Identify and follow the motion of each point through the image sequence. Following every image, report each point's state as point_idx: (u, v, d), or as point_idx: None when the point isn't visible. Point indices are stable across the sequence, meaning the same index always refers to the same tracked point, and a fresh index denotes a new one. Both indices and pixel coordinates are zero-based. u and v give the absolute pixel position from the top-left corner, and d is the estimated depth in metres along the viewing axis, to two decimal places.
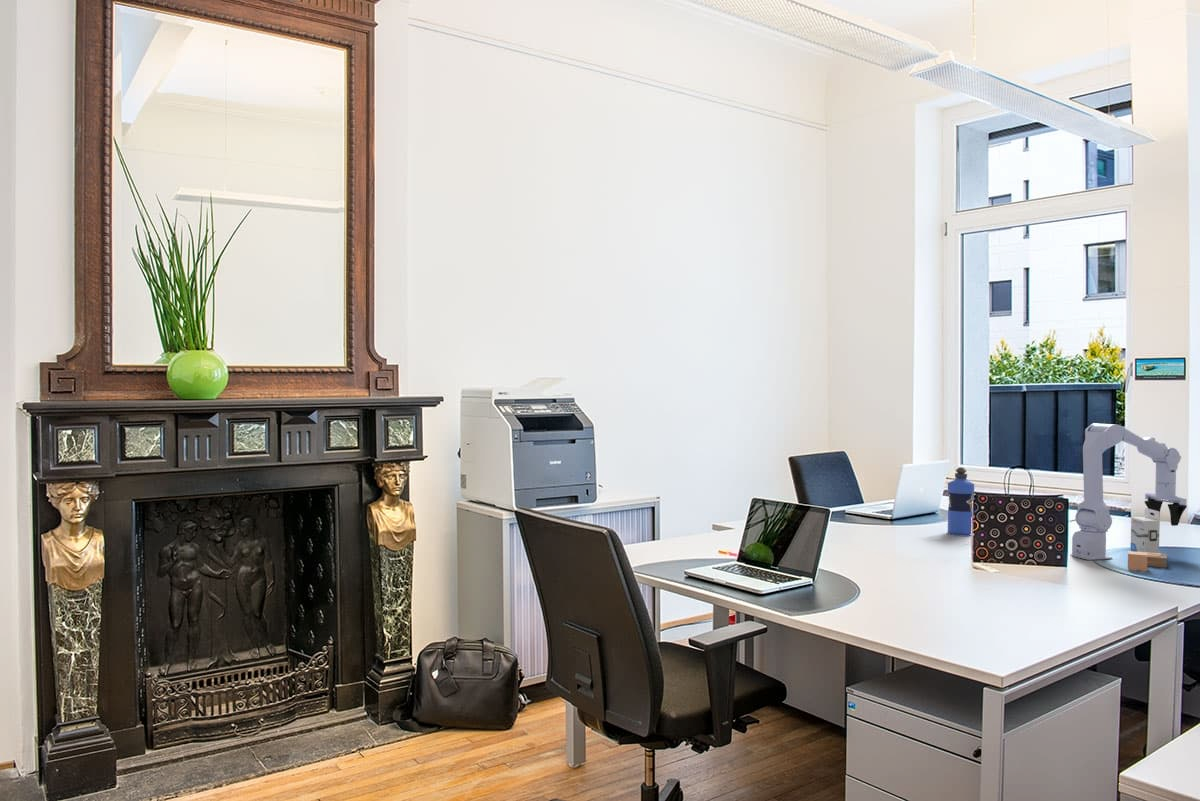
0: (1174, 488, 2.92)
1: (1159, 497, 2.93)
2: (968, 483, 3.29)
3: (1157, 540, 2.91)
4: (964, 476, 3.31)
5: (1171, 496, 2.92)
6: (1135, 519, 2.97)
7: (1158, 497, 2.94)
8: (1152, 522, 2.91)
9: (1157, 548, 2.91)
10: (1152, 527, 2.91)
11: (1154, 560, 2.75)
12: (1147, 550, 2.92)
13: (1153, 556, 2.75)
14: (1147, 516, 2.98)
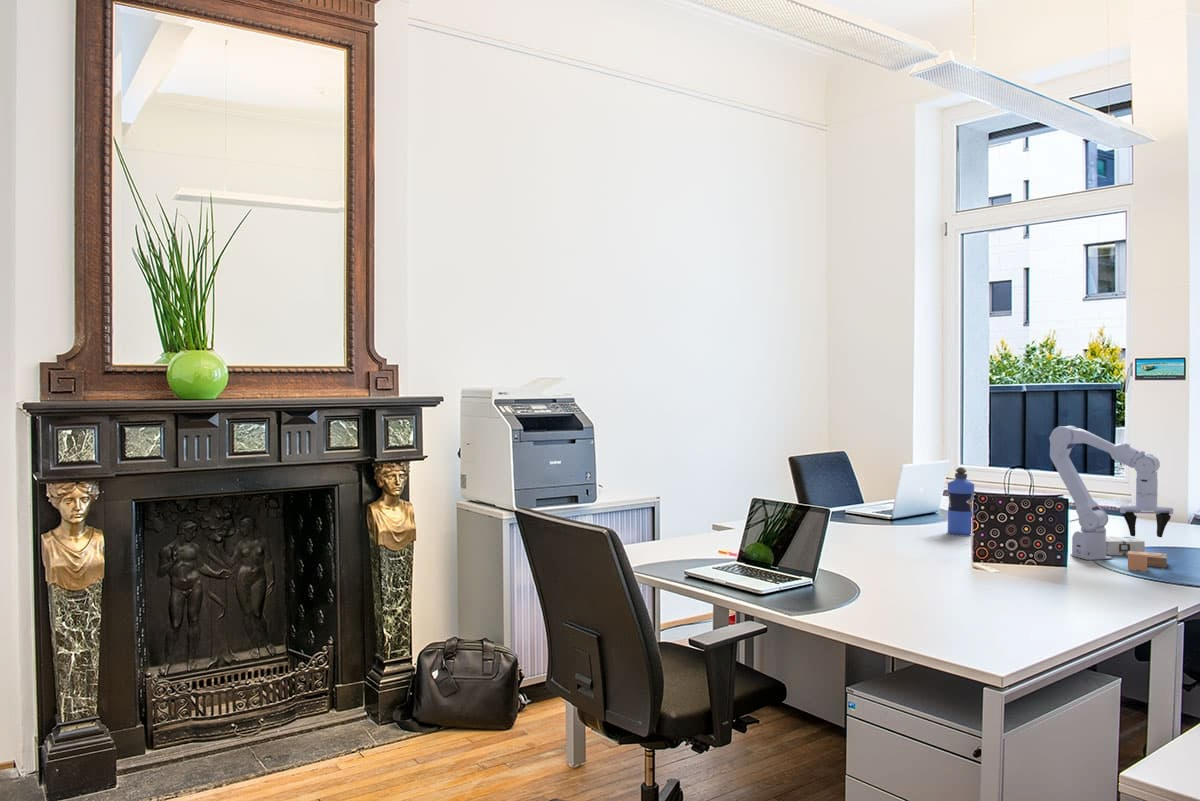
0: (1138, 498, 2.77)
1: None
2: (968, 483, 3.29)
3: (1129, 543, 2.91)
4: (964, 476, 3.31)
5: (1136, 506, 2.79)
6: None
7: None
8: (1110, 548, 2.92)
9: (1137, 543, 2.91)
10: (1116, 548, 2.92)
11: (1154, 560, 2.75)
12: None
13: (1153, 556, 2.75)
14: None
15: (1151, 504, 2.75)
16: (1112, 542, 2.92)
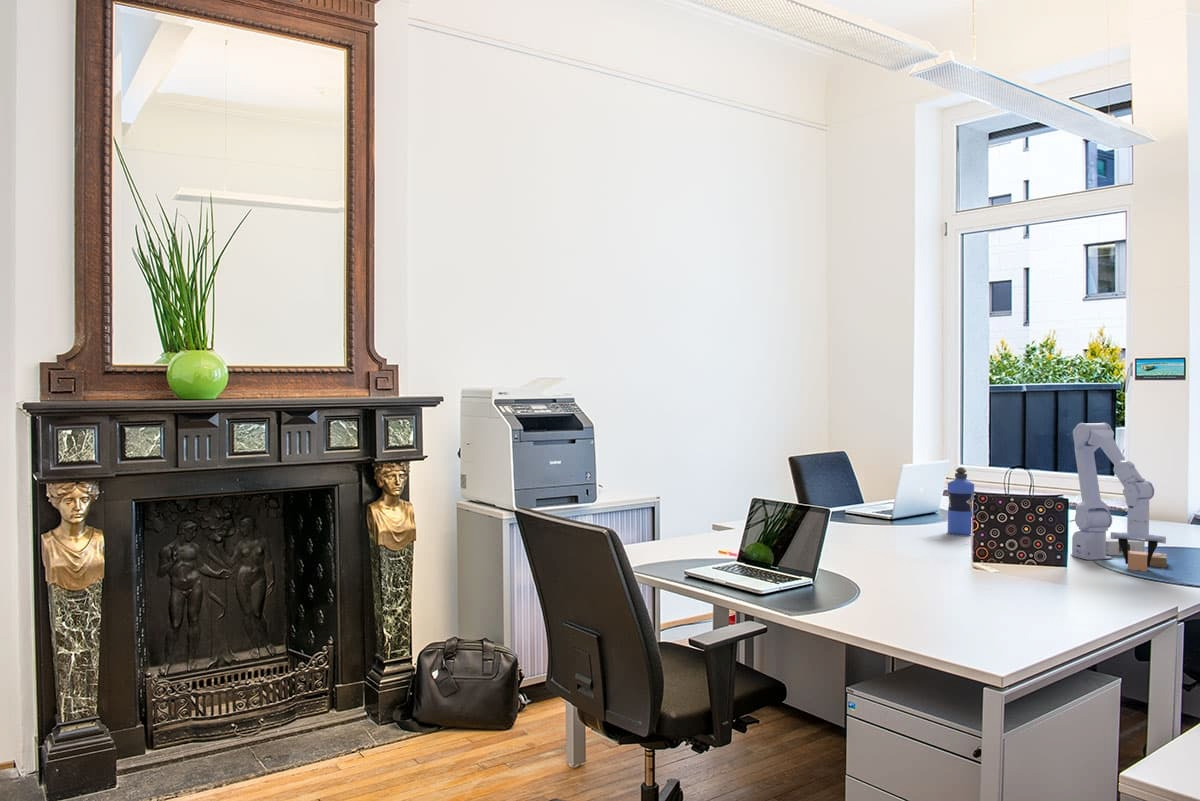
0: (1128, 525, 2.72)
1: None
2: (968, 483, 3.29)
3: (1129, 543, 2.91)
4: (964, 476, 3.31)
5: None
6: None
7: None
8: (1110, 548, 2.92)
9: (1137, 543, 2.91)
10: (1116, 548, 2.92)
11: (1154, 560, 2.75)
12: None
13: (1153, 556, 2.75)
14: None
15: (1139, 531, 2.69)
16: (1112, 542, 2.92)
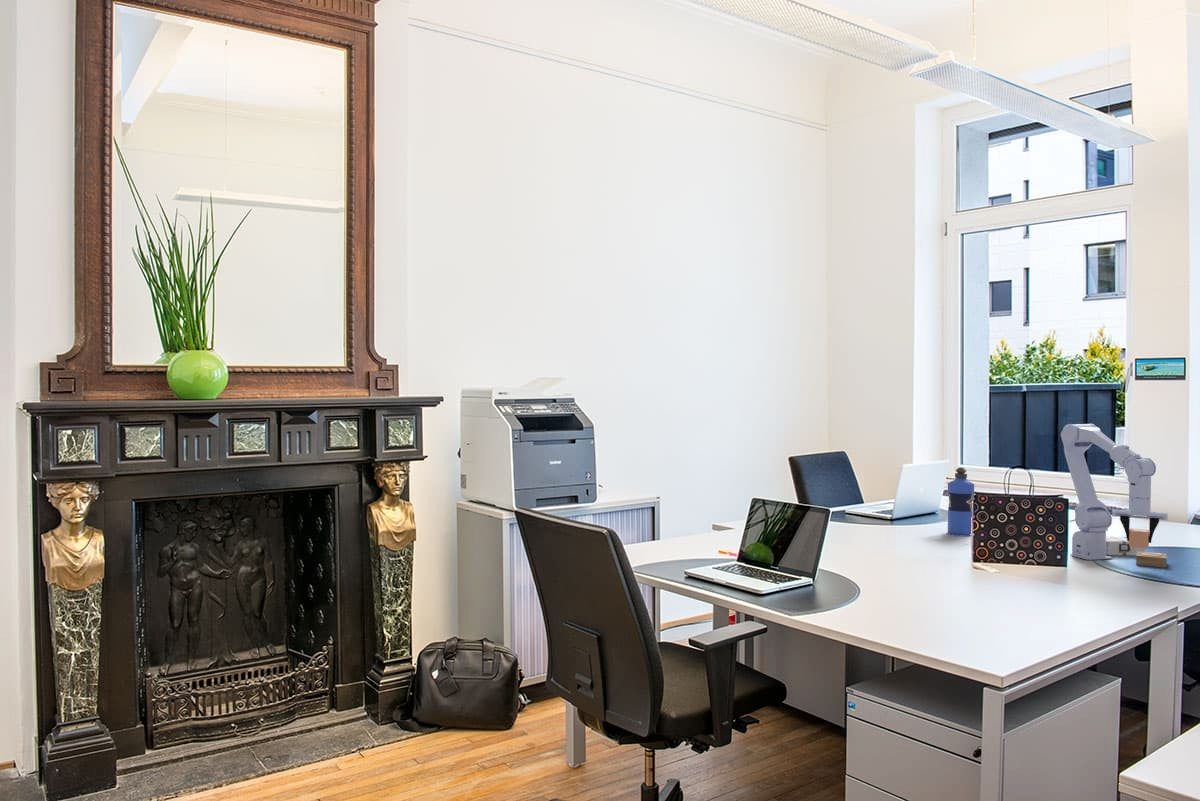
0: (1129, 502, 2.72)
1: None
2: (968, 483, 3.29)
3: None
4: (964, 476, 3.31)
5: None
6: None
7: None
8: (1110, 548, 2.92)
9: None
10: (1116, 548, 2.92)
11: (1154, 560, 2.75)
12: None
13: (1153, 556, 2.75)
14: None
15: (1140, 508, 2.69)
16: (1112, 542, 2.92)
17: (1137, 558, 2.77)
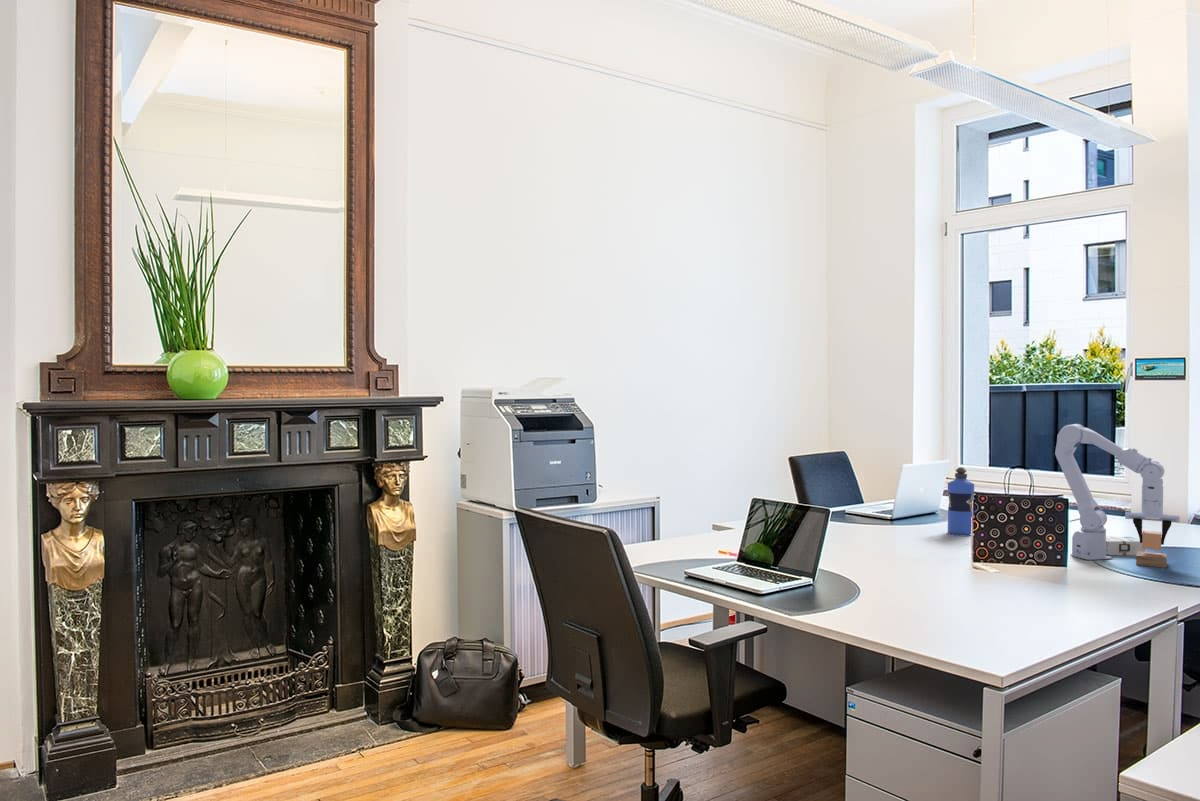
0: (1142, 505, 2.79)
1: None
2: (968, 483, 3.29)
3: (1129, 543, 2.91)
4: (964, 476, 3.31)
5: None
6: None
7: None
8: (1110, 548, 2.92)
9: (1137, 543, 2.91)
10: (1116, 548, 2.92)
11: (1154, 560, 2.75)
12: None
13: (1153, 556, 2.75)
14: None
15: (1153, 511, 2.75)
16: (1112, 542, 2.92)
17: (1137, 558, 2.77)
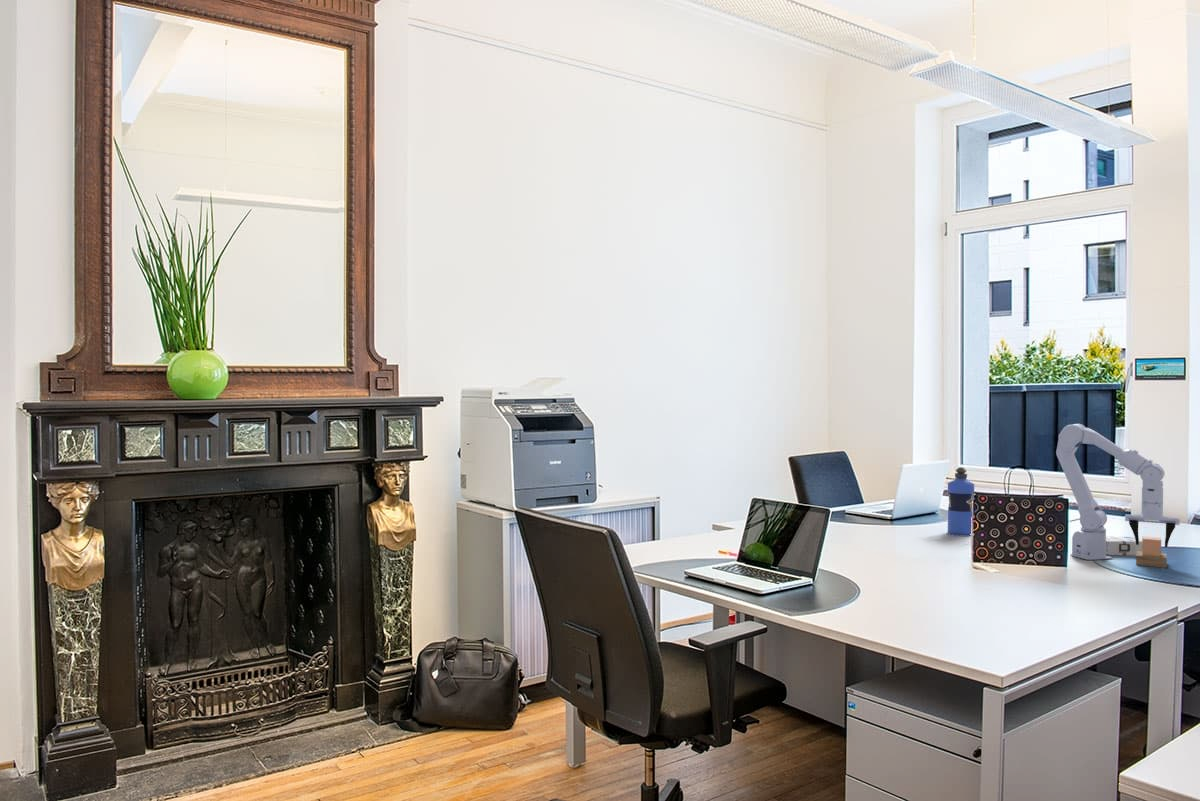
0: (1142, 507, 2.79)
1: None
2: (968, 483, 3.29)
3: (1129, 543, 2.91)
4: (964, 476, 3.31)
5: None
6: None
7: None
8: (1110, 548, 2.92)
9: None
10: (1116, 548, 2.92)
11: (1154, 560, 2.75)
12: None
13: (1153, 556, 2.75)
14: None
15: (1153, 513, 2.75)
16: (1112, 542, 2.92)
17: (1137, 558, 2.77)
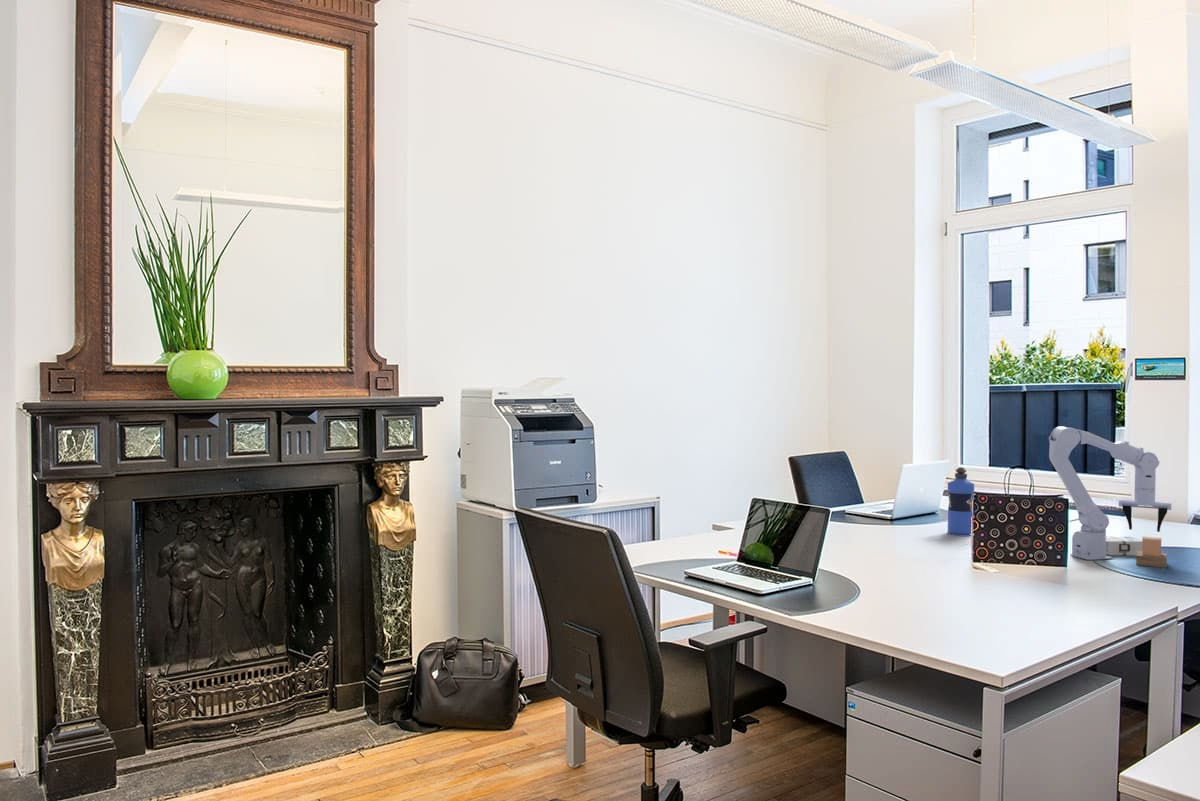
0: (1135, 492, 2.86)
1: None
2: (968, 483, 3.29)
3: (1129, 543, 2.91)
4: (964, 476, 3.31)
5: None
6: None
7: None
8: (1110, 548, 2.92)
9: (1137, 543, 2.91)
10: (1116, 548, 2.92)
11: (1154, 560, 2.75)
12: None
13: (1153, 556, 2.75)
14: None
15: (1146, 498, 2.83)
16: (1112, 542, 2.92)
17: (1137, 558, 2.77)
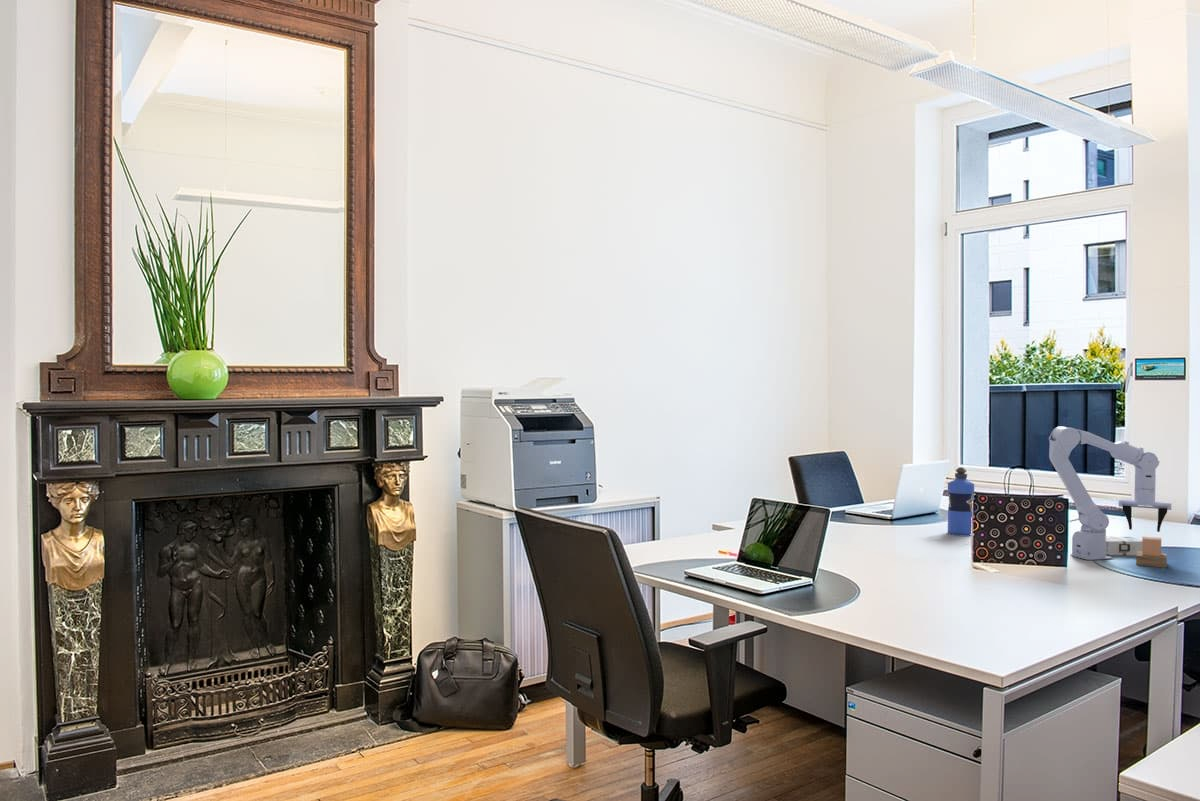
0: (1135, 492, 2.86)
1: None
2: (968, 483, 3.29)
3: (1129, 543, 2.91)
4: (964, 476, 3.31)
5: None
6: None
7: None
8: (1110, 548, 2.92)
9: (1137, 543, 2.91)
10: (1116, 548, 2.92)
11: (1154, 560, 2.75)
12: None
13: (1153, 556, 2.75)
14: None
15: (1146, 498, 2.83)
16: (1112, 542, 2.92)
17: (1137, 558, 2.77)
